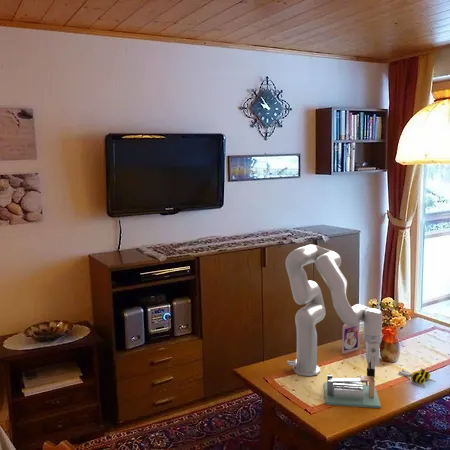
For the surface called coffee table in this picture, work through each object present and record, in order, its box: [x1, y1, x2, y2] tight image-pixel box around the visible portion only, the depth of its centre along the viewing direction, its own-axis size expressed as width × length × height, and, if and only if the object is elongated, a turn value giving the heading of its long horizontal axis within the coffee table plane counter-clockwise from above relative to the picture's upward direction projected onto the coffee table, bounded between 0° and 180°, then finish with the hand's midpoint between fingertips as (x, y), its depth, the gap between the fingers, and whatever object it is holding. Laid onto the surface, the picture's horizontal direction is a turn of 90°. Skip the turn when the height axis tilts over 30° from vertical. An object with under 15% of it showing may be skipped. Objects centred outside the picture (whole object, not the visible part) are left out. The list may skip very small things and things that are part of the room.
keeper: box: [359, 375, 376, 397], centre depth 214 cm, size 6×4×7 cm
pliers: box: [398, 369, 436, 388], centre depth 231 cm, size 10×2×15 cm
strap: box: [329, 377, 369, 386], centre depth 215 cm, size 16×3×2 cm, turn 81°
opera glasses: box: [410, 367, 431, 386], centre depth 229 cm, size 10×5×5 cm, turn 133°
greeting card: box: [341, 322, 361, 354], centre depth 263 cm, size 11×7×15 cm, turn 118°
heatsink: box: [326, 374, 363, 400], centre depth 216 cm, size 14×10×6 cm
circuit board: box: [323, 381, 381, 409], centre depth 216 cm, size 22×18×1 cm
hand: (370, 376), depth 221 cm, fingers closed
